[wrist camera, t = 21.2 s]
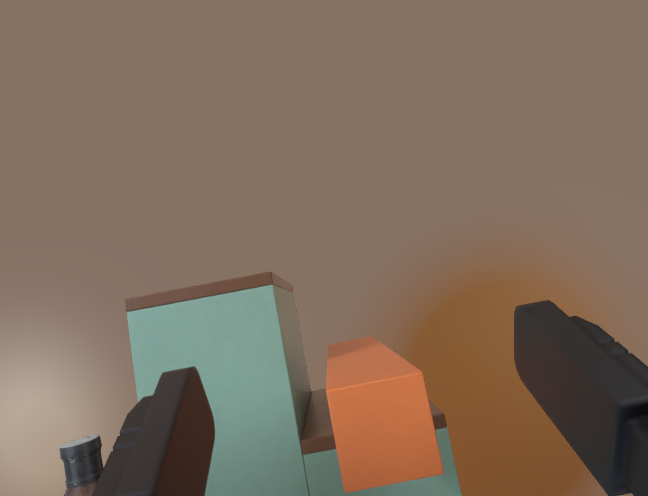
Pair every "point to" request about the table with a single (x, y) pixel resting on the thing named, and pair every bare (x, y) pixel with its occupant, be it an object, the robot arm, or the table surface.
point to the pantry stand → (256, 389)
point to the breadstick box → (379, 416)
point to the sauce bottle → (82, 465)
